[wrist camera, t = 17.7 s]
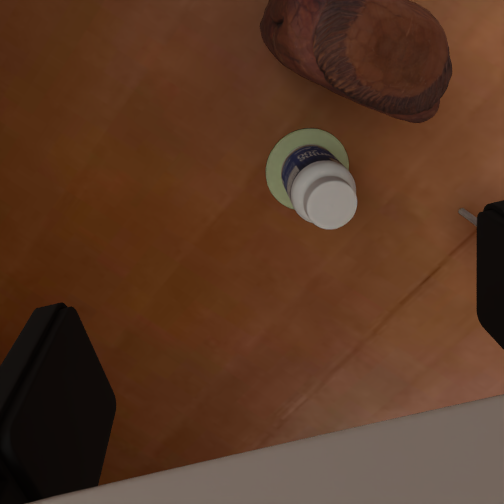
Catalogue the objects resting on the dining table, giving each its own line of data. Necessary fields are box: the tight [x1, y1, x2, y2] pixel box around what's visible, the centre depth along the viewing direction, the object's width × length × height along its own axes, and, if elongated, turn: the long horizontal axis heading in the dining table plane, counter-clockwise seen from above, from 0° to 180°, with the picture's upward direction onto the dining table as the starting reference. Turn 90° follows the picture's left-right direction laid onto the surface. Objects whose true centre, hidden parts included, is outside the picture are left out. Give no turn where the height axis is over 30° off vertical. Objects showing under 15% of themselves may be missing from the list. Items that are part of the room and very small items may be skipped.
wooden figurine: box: [260, 0, 452, 123], centre depth 32 cm, size 12×6×18 cm, turn 67°
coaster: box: [266, 128, 349, 209], centre depth 45 cm, size 8×8×1 cm
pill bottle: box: [281, 144, 357, 229], centre depth 40 cm, size 5×5×10 cm
